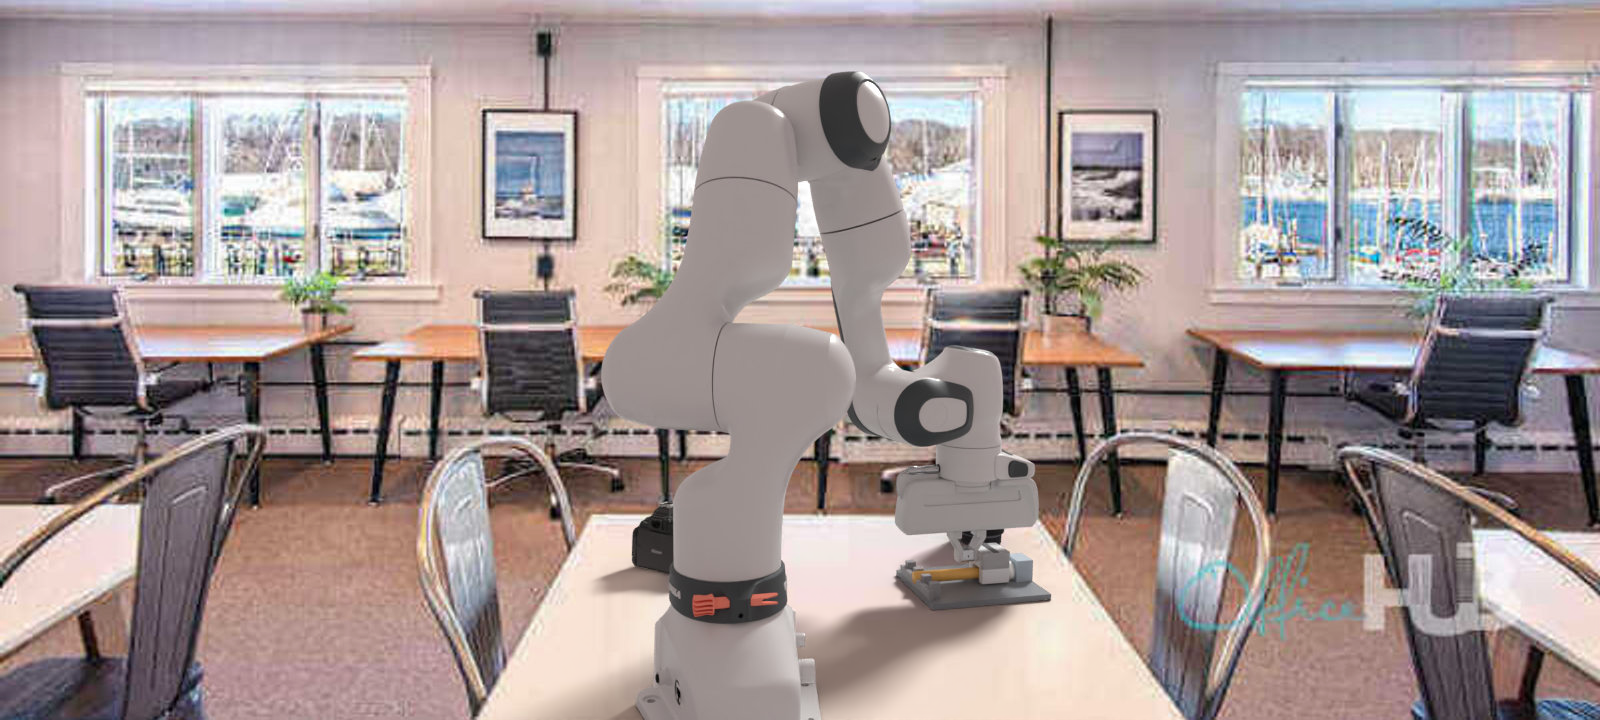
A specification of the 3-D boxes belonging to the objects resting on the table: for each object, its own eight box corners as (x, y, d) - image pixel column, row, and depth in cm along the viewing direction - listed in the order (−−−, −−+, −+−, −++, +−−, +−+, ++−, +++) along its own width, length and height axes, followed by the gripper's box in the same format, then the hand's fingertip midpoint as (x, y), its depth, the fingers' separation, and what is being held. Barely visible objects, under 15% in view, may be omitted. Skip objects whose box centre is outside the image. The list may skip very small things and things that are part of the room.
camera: (728, 560, 142) (728, 496, 141) (714, 583, 132) (714, 513, 131) (643, 556, 144) (642, 492, 143) (623, 578, 134) (622, 509, 133)
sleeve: (1008, 582, 130) (1009, 551, 130) (982, 584, 129) (983, 553, 129) (995, 571, 134) (995, 541, 134) (969, 573, 133) (969, 543, 133)
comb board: (1050, 599, 126) (1052, 572, 126) (932, 610, 122) (933, 581, 122) (1004, 566, 140) (1005, 541, 140) (896, 575, 136) (896, 549, 136)
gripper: (904, 471, 124) (903, 573, 125) (1045, 464, 129) (1042, 562, 130) (889, 461, 130) (887, 558, 131) (1024, 455, 135) (1021, 548, 136)
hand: (965, 560), depth 131 cm, fingers closed
